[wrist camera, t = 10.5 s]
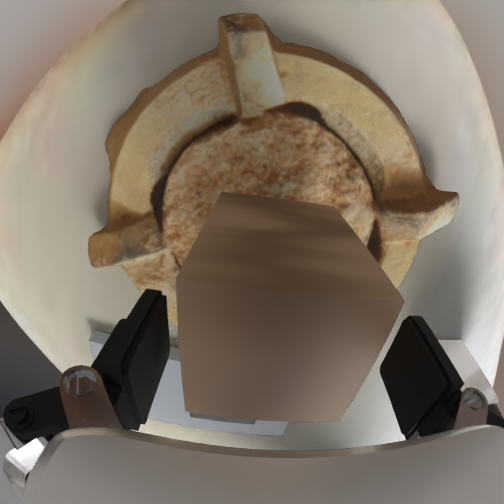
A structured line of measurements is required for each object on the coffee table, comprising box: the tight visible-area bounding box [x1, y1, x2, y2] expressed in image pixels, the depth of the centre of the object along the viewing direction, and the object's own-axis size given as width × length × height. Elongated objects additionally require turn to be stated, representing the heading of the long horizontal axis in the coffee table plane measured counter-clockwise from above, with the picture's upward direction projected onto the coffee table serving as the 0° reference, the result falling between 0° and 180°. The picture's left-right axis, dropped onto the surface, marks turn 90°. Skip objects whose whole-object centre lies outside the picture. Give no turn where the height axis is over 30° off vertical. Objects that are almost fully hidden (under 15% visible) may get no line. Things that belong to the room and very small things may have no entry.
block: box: [176, 192, 404, 422], centre depth 11 cm, size 6×6×8 cm
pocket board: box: [89, 330, 288, 436], centre depth 26 cm, size 20×12×2 cm, turn 83°
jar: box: [418, 340, 504, 438], centre depth 19 cm, size 9×8×12 cm
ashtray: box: [88, 13, 459, 326], centre depth 17 cm, size 24×24×5 cm
